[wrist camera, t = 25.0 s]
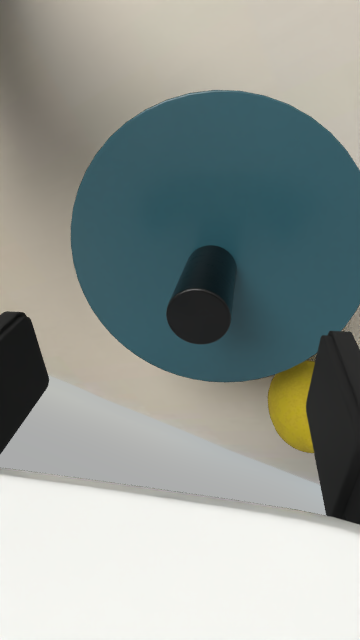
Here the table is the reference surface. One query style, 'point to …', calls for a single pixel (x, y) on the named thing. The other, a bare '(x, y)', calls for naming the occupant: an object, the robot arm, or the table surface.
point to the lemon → (292, 405)
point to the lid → (220, 235)
